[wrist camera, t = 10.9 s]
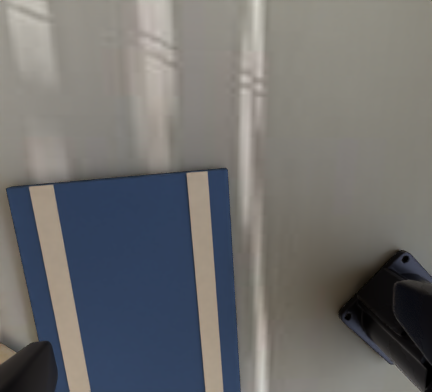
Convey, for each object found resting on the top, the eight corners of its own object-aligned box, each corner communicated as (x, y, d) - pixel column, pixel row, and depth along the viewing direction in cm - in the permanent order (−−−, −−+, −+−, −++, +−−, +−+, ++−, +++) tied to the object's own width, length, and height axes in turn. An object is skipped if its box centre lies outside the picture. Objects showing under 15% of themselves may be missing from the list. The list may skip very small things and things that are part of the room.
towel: (10, 186, 17) (4, 188, 17) (225, 167, 19) (228, 169, 18) (76, 493, 22) (73, 505, 22) (243, 458, 24) (245, 468, 23)
